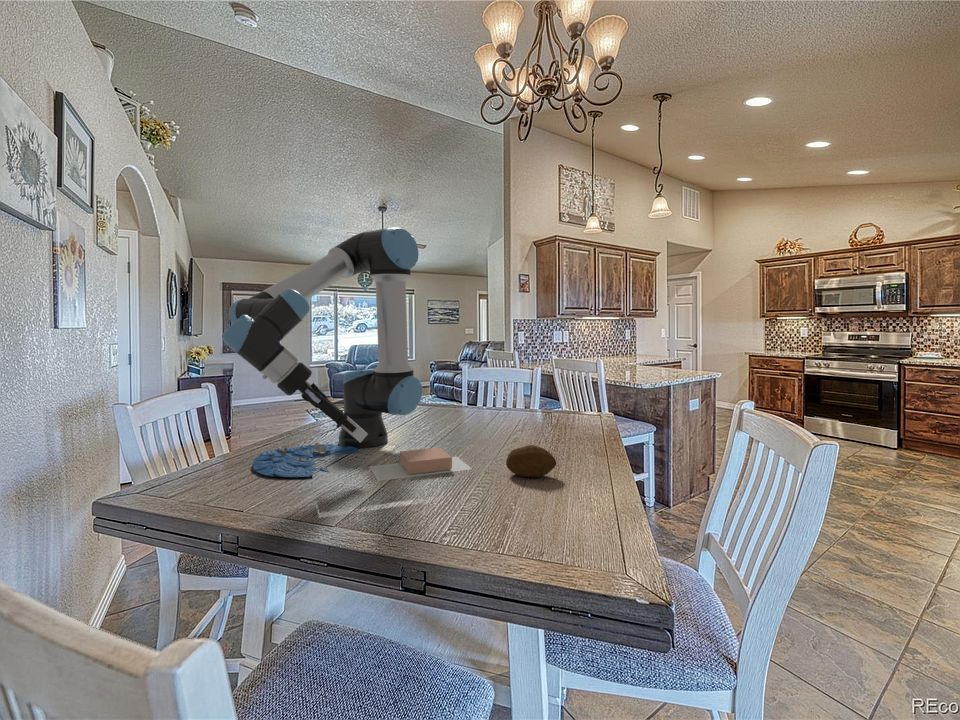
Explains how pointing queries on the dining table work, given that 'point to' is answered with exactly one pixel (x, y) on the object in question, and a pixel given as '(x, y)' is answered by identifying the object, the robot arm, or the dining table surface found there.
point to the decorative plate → (297, 459)
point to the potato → (530, 461)
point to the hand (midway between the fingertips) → (363, 437)
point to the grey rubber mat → (399, 472)
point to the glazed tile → (425, 460)
